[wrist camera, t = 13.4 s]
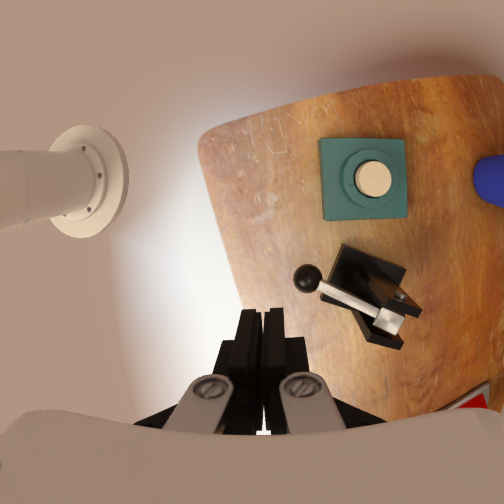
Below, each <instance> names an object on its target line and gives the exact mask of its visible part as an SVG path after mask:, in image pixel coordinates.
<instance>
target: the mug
mask: <svg viewBox="0 0 504 504" xmlns="http://www.w3.org/2000/svg"><path fill="white" fill-rule="evenodd" d="M473 179H474V186H475V189H476V191H477V193H478V195H479V196H480V197H481V198H482V199H483V200H484V201H486V202H488V203H491V204H494V205H497V206H499V207H502V208H504V155H498V156H491V157H486V158H483V159H481V160H480V161H479V162H478V163H477V165H476V167H475V170H474V177H473Z"/></svg>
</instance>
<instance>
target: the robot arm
mask: <svg viewBox="0 0 504 504" xmlns="http://www.w3.org/2000/svg"><path fill="white" fill-rule="evenodd" d="M106 187H107V172H106V167H105V163H104V161H103V158H102V157H101V155H100V153H99V152H98V151H97V150H96V149H95V148H94V147H93V146H91V145H89V144H86V143H80V142H77V143H71V144H68V145H67V146H65V147H64V148H62V149H61V150H60V151H0V232H3V231H6V230H10V229H13V228H17V227H20V226H24V225H27V224H31V223H34V222H38V221H42V220H45V219H49V218H53V217H57V216H62V217H63V218H65V219H67V220H69V221H81V220H84V219H87V218H89V217H90V216H92V215H93V214H94V213H95V212H96V211H97V210H98V208H99V207H100V205H101V203H102V201H103V199H104V196H105V192H106ZM263 408H264V411H265V422H266V430H271V435H256V431H261V430H262V423H263ZM0 504H504V416H503V415H501V414H500V413H498V412H496V411H493V410H490V409H484V408H458V409H449V410H443V411H437V412H432V413H427V414H423V415H419V416H414V417H410V418H405V419H400V420H395V421H390V422H387V421H385V420H383V419H381V418H379V417H376V416H374V415H372V414H369V413H367V412H365V411H362V410H360V409H358V408H356V407H353V406H351V405H349V404H347V403H345V402H342V401H340V400H338V399H336V398H334V397H332V395H331V393H330V391H329V389H328V386H327V384H326V382H325V381H324V379H323V378H322V377H321V376H319V375H318V374H315V373H312V372H310V371H309V364H308V358H307V352H306V345H305V339H304V337H293V338H285V332H284V312H283V307H282V308H270V312H265V317H264V329H262V318H261V312H256V309H244V310H242V311H241V315H240V320H239V324H238V328H237V332H236V336H235V340H223V341H222V344H221V347H220V350H219V354H218V357H217V360H216V363H215V366H214V370H213V373H212V374H210V375H205V376H202V377H199V378H197V379H196V380H194V381H193V382H192V383H191V384H190V386H189V387H188V389H187V390H186V392H185V394H184V395H183V397H182V398H181V400H180V401H179V403H178V404H176V405H174V406H172V407H170V408H168V409H165V410H163V411H161V412H159V413H157V414H154V415H152V416H150V417H147V418H145V419H143V420H140V421H138V422H136V423H134V424H132V425H131V424H126V423H121V422H116V421H111V420H106V419H102V418H97V417H92V416H87V415H83V414H79V413H74V412H68V411H58V410H37V411H31V412H28V413H25V414H23V415H22V416H20V417H19V418H18V419H17V420H15V421H14V422H13V423H12V424H11V425H10V426H9V427H8V428H7V429H6V430H5V431H4V432H3V433H2V434H1V436H0Z"/></svg>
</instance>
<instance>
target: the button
mask: <svg viewBox="0 0 504 504" xmlns="http://www.w3.org/2000/svg"><path fill="white" fill-rule="evenodd" d="M355 181H356V185H357V187H358V189H359V190H360V191H361V192H362V193H364V194H366V195H369V196H373V197H378V196H382V195H384V194H385V193H386V192H387V191H388V190H389V188H390V186H391V174H390V171H389V170H388V168H387V167H386V166H385V165H384V164H382V163H380V162H377V161H371V162H366V163H363V164H362V165H360V166H359V168H358V169H357V171H356V174H355Z"/></svg>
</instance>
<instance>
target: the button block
mask: <svg viewBox="0 0 504 504" xmlns="http://www.w3.org/2000/svg"><path fill="white" fill-rule="evenodd" d="M318 146H319V158H320V171H321V186H322V204H323V219H324V220H326V221H337V220H360V219H385V218H407V175H406V158H405V146H404V140H400V139H377V138H321V139H319V140H318ZM371 161H377V162H380V163H382V164H384V165H385V166H386V167H387V168H388V170H389V171H390V174H391V186H390V188H389V190H388V191H387V192H386V193H385V194H384V195H382V196H378V197H373V196H369V195H366V194H364V193H362V192H361V191H360V190H359V189H358V187H357V185H356V181H355V174H356V171H357V169H358V168H359V166H360V165H362V164H363V163H366V162H371Z"/></svg>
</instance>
